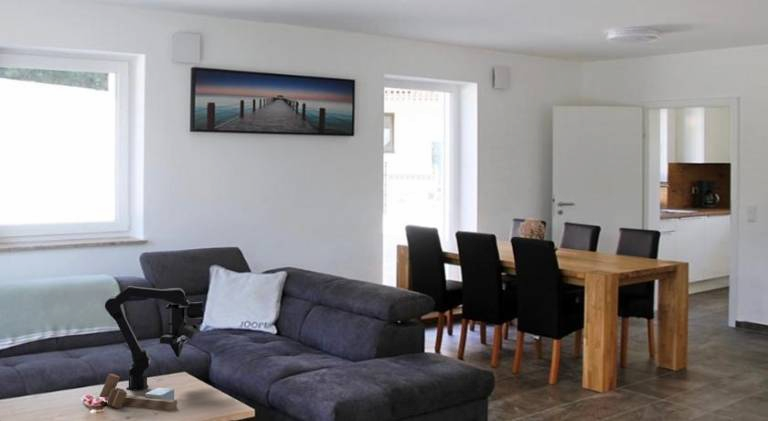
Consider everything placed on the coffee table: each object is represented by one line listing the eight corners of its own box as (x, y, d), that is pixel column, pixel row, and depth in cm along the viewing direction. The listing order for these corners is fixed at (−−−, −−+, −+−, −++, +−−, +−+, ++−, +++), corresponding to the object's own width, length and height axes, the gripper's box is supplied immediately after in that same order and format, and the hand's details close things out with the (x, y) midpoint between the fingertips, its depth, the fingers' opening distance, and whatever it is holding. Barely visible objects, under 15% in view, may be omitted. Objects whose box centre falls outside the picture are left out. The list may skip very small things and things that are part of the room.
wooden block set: (123, 414, 295) (134, 388, 296) (100, 408, 292) (112, 381, 293) (118, 400, 312) (128, 375, 313) (96, 393, 308) (107, 369, 309)
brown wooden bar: (120, 405, 299) (120, 397, 299) (125, 402, 302) (125, 395, 302) (172, 410, 293) (172, 402, 292) (176, 407, 295) (176, 399, 295)
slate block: (144, 405, 300) (144, 393, 299) (158, 399, 308) (158, 387, 308) (161, 407, 297) (161, 395, 297) (174, 400, 306) (174, 389, 306)
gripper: (183, 324, 314) (183, 363, 315) (206, 316, 332) (207, 353, 332) (158, 322, 317) (158, 361, 318) (183, 315, 335) (183, 351, 336)
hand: (178, 356), depth 326 cm, fingers closed
